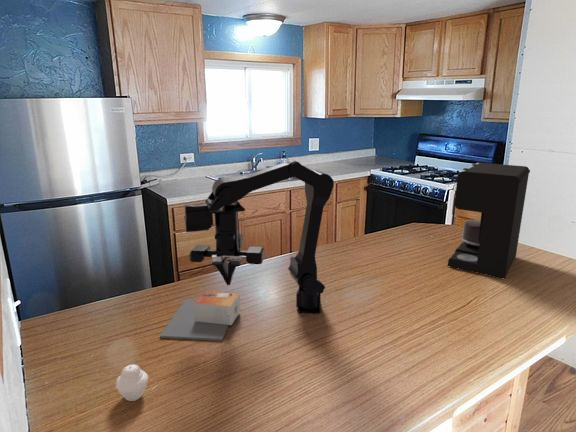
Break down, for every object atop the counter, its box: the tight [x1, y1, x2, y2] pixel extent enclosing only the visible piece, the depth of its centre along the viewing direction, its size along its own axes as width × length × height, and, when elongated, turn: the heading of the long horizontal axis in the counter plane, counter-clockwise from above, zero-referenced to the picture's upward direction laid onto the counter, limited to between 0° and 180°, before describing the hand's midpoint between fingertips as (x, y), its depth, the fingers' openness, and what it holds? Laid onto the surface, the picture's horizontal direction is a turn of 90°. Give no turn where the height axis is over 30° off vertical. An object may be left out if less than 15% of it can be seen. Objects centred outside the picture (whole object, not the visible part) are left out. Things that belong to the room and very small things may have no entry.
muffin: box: [115, 364, 149, 402], centre depth 83 cm, size 6×6×7 cm
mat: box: [159, 298, 230, 342], centre depth 113 cm, size 16×20×1 cm
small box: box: [194, 290, 241, 326], centre depth 113 cm, size 8×6×10 cm
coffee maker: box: [447, 162, 531, 280], centre depth 149 cm, size 28×20×35 cm
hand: (228, 284), depth 109 cm, fingers closed
